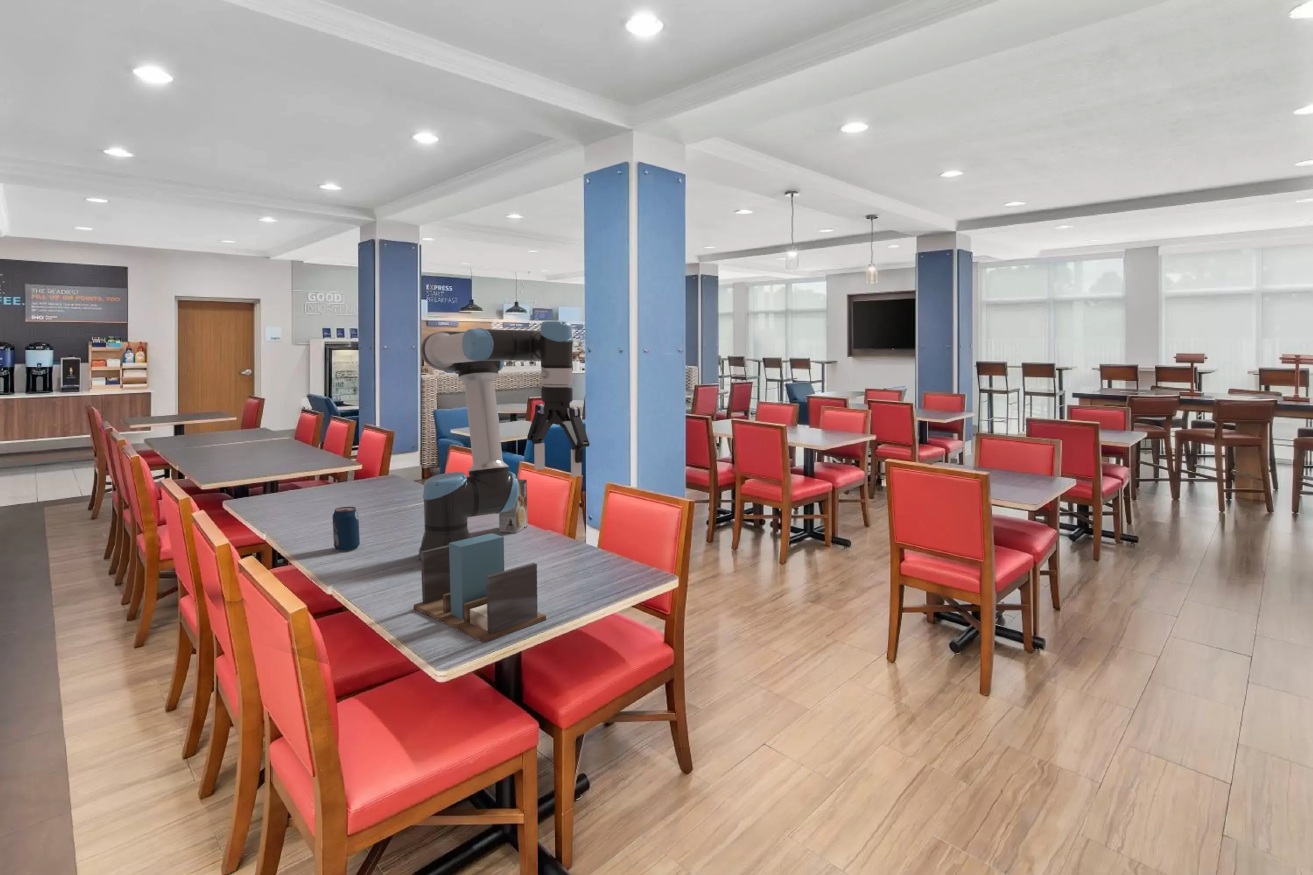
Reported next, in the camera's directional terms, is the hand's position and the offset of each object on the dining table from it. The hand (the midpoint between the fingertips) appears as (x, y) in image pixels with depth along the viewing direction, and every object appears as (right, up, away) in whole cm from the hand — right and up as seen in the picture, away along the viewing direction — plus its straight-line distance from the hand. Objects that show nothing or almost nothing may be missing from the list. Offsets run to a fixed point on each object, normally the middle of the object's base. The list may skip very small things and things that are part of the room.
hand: (557, 472), depth 168 cm
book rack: (-15, -31, -16) cm, 38 cm away
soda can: (-67, -24, +33) cm, 79 cm away
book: (-15, -30, -16) cm, 37 cm away
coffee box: (-23, -22, +57) cm, 66 cm away
